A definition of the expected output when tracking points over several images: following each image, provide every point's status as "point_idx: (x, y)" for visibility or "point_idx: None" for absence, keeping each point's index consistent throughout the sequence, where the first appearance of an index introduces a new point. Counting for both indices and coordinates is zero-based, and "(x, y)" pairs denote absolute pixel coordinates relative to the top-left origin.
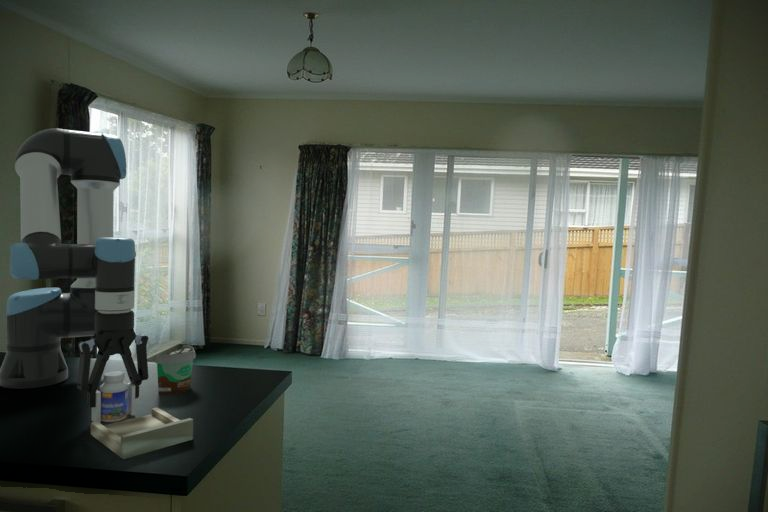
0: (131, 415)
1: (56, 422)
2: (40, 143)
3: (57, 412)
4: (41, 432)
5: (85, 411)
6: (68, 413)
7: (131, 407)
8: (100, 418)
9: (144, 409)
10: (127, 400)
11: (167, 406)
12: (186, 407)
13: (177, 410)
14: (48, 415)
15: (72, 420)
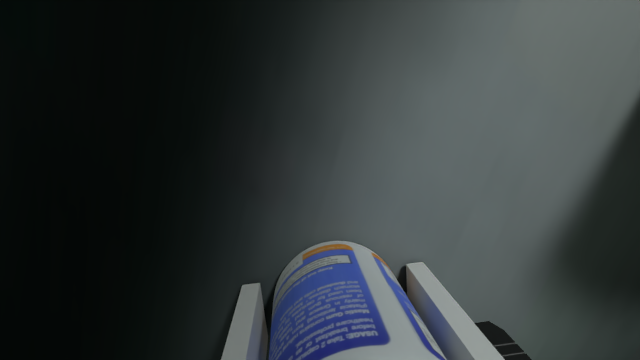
0: None
1: (90, 209)
2: None
3: (106, 41)
4: (18, 305)
5: (249, 119)
6: (162, 99)
7: None
8: (266, 352)
9: (491, 252)
10: (433, 318)
11: (585, 267)
12: (632, 320)
13: (585, 336)
14: (54, 68)
15: (166, 222)
